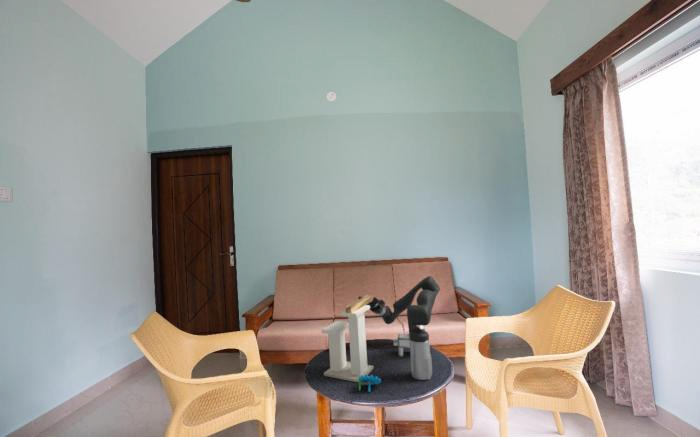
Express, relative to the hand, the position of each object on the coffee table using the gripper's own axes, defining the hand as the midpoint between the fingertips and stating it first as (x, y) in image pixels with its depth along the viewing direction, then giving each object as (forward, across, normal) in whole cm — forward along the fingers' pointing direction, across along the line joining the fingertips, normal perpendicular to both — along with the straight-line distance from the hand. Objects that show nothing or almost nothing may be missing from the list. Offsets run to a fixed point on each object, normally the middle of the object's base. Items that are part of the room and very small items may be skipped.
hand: (366, 298), depth 164 cm
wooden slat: (+6, 0, +6) cm, 9 cm away
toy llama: (-33, +16, +21) cm, 42 cm away
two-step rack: (-6, -6, +36) cm, 37 cm away
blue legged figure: (+3, +10, +42) cm, 43 cm away
